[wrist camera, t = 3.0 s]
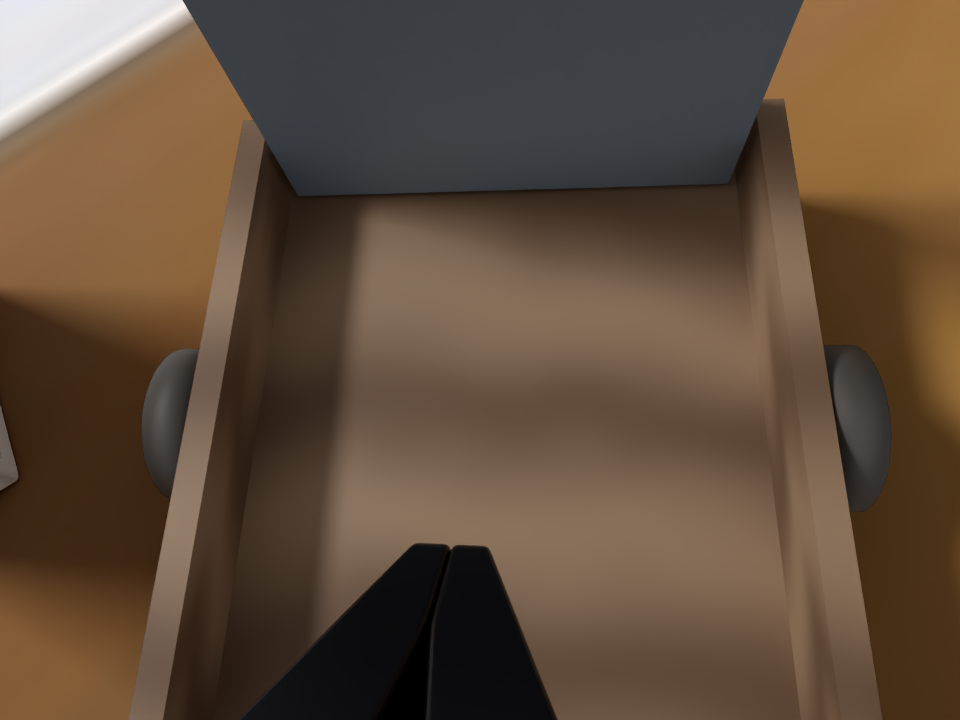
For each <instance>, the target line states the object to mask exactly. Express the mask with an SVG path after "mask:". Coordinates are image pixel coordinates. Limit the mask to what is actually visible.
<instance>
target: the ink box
mask: <svg viewBox="0 0 960 720" xmlns="http://www.w3.org/2000/svg"><path fill="white" fill-rule="evenodd" d="M18 477H19V476H18V471H17V467H16V463H15V460H14V456H13V452H12V449H11V445H10V441H9V437H8V433H7V429H6V425H5V421H4V418H3V414H2V409H1V406H0V490H2V489H4V488H5V487H7V486H9V485H11V484H12V483H14V482H16V481H17V479H18Z"/></svg>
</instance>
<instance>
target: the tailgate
mask: <svg viewBox="0 0 960 720" xmlns="http://www.w3.org/2000/svg"><path fill="white" fill-rule="evenodd" d="M183 2H184V3H185V5H186V7H187V8H188V10H189V12H190V14H191V15H192V17H193V19H194V20H195V22H196V24H197V25H198V27H199V29H200V30H201V32H202V34H203V36H204V37H205V39H206V41H207V42H208V44H209V46H210V47H211V49H212V51H213V52H214V54H215V56H216V58H217V59H218V61H219V63H220V64H221V66H222V68H223V69H224V71H225V73H226V74H227V76H228V78H229V80H230V81H231V83H232V85H233V86H234V88H235V90H236V91H237V93H238V95H239V96H240V98H241V100H242V102H243V103H244V105H245V107H246V108H247V110H248V112H249V113H250V115H251V117H252V118H253V120H254V122H255V124H256V125H257V127H258V129H259V130H260V132H261V134H262V135H263V137H264V139H265V140H266V142H267V144H268V146H269V147H270V149H271V151H272V152H273V154H274V156H275V157H276V159H277V161H278V162H279V164H280V166H281V168H282V169H283V171H284V173H285V174H286V176H287V178H288V179H289V181H290V183H291V184H292V186H293V188H294V190H295V191H296V193H297V195H298V196H323V195H358V194H392V193H427V192H461V191H496V190H530V189H565V188H599V187H634V186H668V185H703V184H728V183H729V181H730V178H731V176H732V173H733V171H734V169H735V166H736V164H737V161H738V159H739V156H740V154H741V152H742V149H743V147H744V144H745V142H746V139H747V137H748V134H749V132H750V130H751V127H752V125H753V122H754V120H755V117H756V115H757V113H758V110H759V108H760V105H761V103H762V100H763V98H764V95H765V93H766V91H767V88H768V86H769V83H770V81H771V78H772V76H773V74H774V71H775V69H776V66H777V64H778V61H779V59H780V56H781V54H782V52H783V49H784V47H785V44H786V42H787V39H788V37H789V35H790V32H791V30H792V27H793V25H794V22H795V20H796V17H797V15H798V13H799V10H800V8H801V5H802V3H803V0H183Z"/></svg>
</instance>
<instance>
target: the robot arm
mask: <svg viewBox="0 0 960 720" xmlns="http://www.w3.org/2000/svg"><path fill="white" fill-rule="evenodd" d="M237 720H558V719H557V716H556V714H555V711H554V709H553V706H552V704H551V701H550V699H549V696H548V694H547V691H546V689H545V686H544V684H543V681H542V679H541V676H540V674H539V671H538V669H537V666H536V664H535V661H534V659H533V656H532V653H531V651H530V648H529V646H528V643H527V641H526V638H525V636H524V633H523V631H522V628H521V626H520V623H519V621H518V618H517V616H516V613H515V611H514V608H513V606H512V603H511V601H510V598H509V596H508V593H507V591H506V588H505V586H504V583H503V581H502V578H501V576H500V573H499V571H498V568H497V566H496V563H495V561H494V558H493V556H492V553H491V551H490V550H489V548H488V547H486V546H478V545H455V546H454V547H453V548H452V549H450V547H449V546H448V545H447V544H435V543H416V544H414V545H412V546H411V547H409V548H408V549H407V550H406V551H405V552H404V553H403V554H402V555H401V556H400V557H399V558H398V559H397V560H396V561H395V562H394V563H393V564H392V565H391V566H390V567H389V568H388V569H387V570H386V571H385V572H384V573H383V574H382V575H381V576H380V577H379V578H378V579H377V580H376V581H375V582H374V583H373V584H372V585H371V586H370V587H369V588H368V589H367V590H366V591H365V592H364V593H363V594H362V595H361V596H360V597H359V598H358V599H357V600H356V601H355V602H354V603H353V604H352V605H351V606H350V607H349V608H348V609H347V610H346V611H345V612H344V613H343V614H342V615H341V616H340V617H339V618H338V619H337V620H336V621H335V622H334V623H333V624H332V625H331V626H330V627H329V628H328V629H327V630H326V631H325V632H324V633H323V634H322V635H321V636H320V637H319V638H318V639H317V640H316V641H315V642H314V643H313V644H312V645H311V646H310V647H309V648H308V649H307V650H306V651H305V652H304V653H303V654H302V655H301V656H300V657H299V658H298V659H297V660H296V661H295V662H294V663H293V664H292V665H291V666H290V667H289V668H288V669H287V670H286V671H285V672H284V673H283V674H282V675H281V676H280V677H279V678H278V679H277V680H276V681H275V682H274V683H273V684H272V685H271V686H270V687H269V688H268V689H267V690H266V691H265V692H264V693H263V694H262V695H261V696H260V697H259V698H258V699H257V700H256V701H255V702H254V703H253V704H252V705H251V706H250V707H249V708H248V709H247V710H246V711H245V712H244V713H243V714H242V715H241V716H240V717H239V718H238V719H237Z"/></svg>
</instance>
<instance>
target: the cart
mask: <svg viewBox="0 0 960 720" xmlns="http://www.w3.org/2000/svg"><path fill="white" fill-rule="evenodd" d="M141 436H142V448H143V455H144V459H145V464H146V467H147V470H148V473H149V475H150V477H151V479H152V481H153V483H154V484H155V486H156V488H157V489H158V490H159V491H160V492H161V493H162V494H163V495H165V496H166V497H168V498H170V499H171V500H170V505H169V510H168V515H167V521H166V526H165V531H164V536H163V541H162V547H161V552H160V557H159V562H158V568H157V573H156V578H155V583H154V588H153V594H152V599H151V604H150V609H149V615H148V620H147V625H146V630H145V635H144V641H143V646H142V651H141V656H140V661H139V667H138V672H137V677H136V682H135V688H134V693H133V698H132V703H131V708H130V714H129V719H128V720H237V719H238V718H239V717H240V716H241V715H242V714H243V713H244V712H245V711H246V710H247V709H248V708H249V707H250V706H251V705H252V704H253V703H254V702H255V701H256V700H257V699H258V698H259V697H260V696H261V695H262V694H263V693H264V692H265V691H266V690H267V689H268V688H269V687H270V686H271V685H272V684H273V683H274V682H275V681H276V680H277V679H278V678H279V677H280V676H281V675H282V674H283V673H284V672H285V671H286V670H287V669H288V668H289V667H290V666H291V665H292V664H293V663H294V662H295V661H296V660H297V659H298V658H299V657H300V656H301V655H302V654H303V653H304V652H305V651H306V650H307V649H308V648H309V647H310V646H311V645H312V644H313V643H314V642H315V641H316V640H317V639H318V638H319V637H320V636H321V635H322V634H323V633H324V632H325V631H326V630H327V629H328V628H329V627H330V626H331V625H332V624H333V623H334V622H335V621H336V620H337V619H338V618H339V617H340V616H341V615H342V614H343V613H344V612H345V611H346V610H347V609H348V608H349V607H350V606H351V605H352V604H353V603H354V602H355V601H356V600H357V599H358V598H359V597H360V596H361V595H362V594H363V593H364V592H365V591H366V590H367V589H368V588H369V587H370V586H371V585H372V584H373V583H374V582H375V581H376V580H377V579H378V578H379V577H380V576H381V575H382V574H383V573H384V572H385V571H386V570H387V569H388V568H389V567H390V566H391V565H392V564H393V563H394V562H395V561H396V560H397V559H398V558H399V557H400V556H401V555H402V554H403V553H404V552H405V551H406V550H407V549H408V548H409V547H411V546H412V545H414V544H416V543H435V544H447V545H448V546H449V547H450V549H452V548H453V547H454V546H455V545H478V546H486V547H488V548H489V550H490V551H491V553H492V556H493V558H494V561H495V563H496V566H497V568H498V571H499V573H500V576H501V578H502V581H503V583H504V586H505V588H506V591H507V593H508V596H509V598H510V601H511V603H512V606H513V608H514V611H515V613H516V616H517V618H518V621H519V623H520V626H521V628H522V631H523V633H524V636H525V638H526V641H527V643H528V646H529V648H530V651H531V653H532V656H533V659H534V661H535V664H536V666H537V669H538V671H539V674H540V676H541V679H542V681H543V684H544V686H545V689H546V691H547V694H548V696H549V699H550V701H551V704H552V706H553V709H554V711H555V714H556V716H557V719H558V720H883V719H882V713H881V707H880V700H879V694H878V688H877V682H876V675H875V669H874V663H873V656H872V650H871V644H870V637H869V631H868V625H867V619H866V612H865V606H864V600H863V593H862V587H861V581H860V575H859V568H858V562H857V556H856V549H855V543H854V537H853V530H852V524H851V518H850V512H861V511H865V510H866V509H868V508H870V507H871V506H872V505H873V504H874V502H875V501H876V500H877V498H878V497H879V495H880V493H881V491H882V488H883V486H884V483H885V480H886V476H887V472H888V467H889V461H890V452H891V424H890V414H889V407H888V401H887V397H886V392H885V389H884V386H883V382H882V380H881V377H880V375H879V372H878V370H877V368H876V366H875V364H874V363H873V361H872V360H871V358H870V357H869V356H868V355H867V353H866V352H865V351H863V350H862V349H861V348H859V347H857V346H854V345H823V342H822V335H821V329H820V323H819V316H818V310H817V304H816V298H815V291H814V285H813V279H812V272H811V266H810V260H809V254H808V247H807V241H806V235H805V228H804V222H803V216H802V209H801V203H800V197H799V191H798V184H797V178H796V172H795V165H794V159H793V153H792V147H791V140H790V134H789V128H788V121H787V115H786V109H785V102H784V99H764V100H762V103H761V105H760V108H759V110H758V113H757V115H756V117H755V120H754V122H753V125H752V127H751V130H750V132H749V134H748V137H747V139H746V142H745V144H744V147H743V149H742V152H741V154H740V156H739V159H738V161H737V164H736V166H735V169H734V171H733V173H732V176H731V178H730V181H729V183H728V184H703V185H668V186H634V187H599V188H565V189H530V190H496V191H461V192H427V193H392V194H358V195H323V196H298V195H297V193H296V191H295V190H294V188H293V186H292V184H291V183H290V181H289V179H288V178H287V176H286V174H285V173H284V171H283V169H282V168H281V166H280V164H279V162H278V161H277V159H276V157H275V156H274V154H273V152H272V151H271V149H270V147H269V146H268V144H267V142H266V140H265V139H264V137H263V135H262V134H261V132H260V130H259V129H258V127H257V125H256V124H255V122H254V120H248V121H243V124H242V129H241V134H240V140H239V145H238V150H237V155H236V160H235V166H234V171H233V176H232V181H231V187H230V192H229V197H228V202H227V207H226V213H225V218H224V223H223V228H222V234H221V239H220V244H219V249H218V254H217V260H216V265H215V270H214V275H213V281H212V286H211V291H210V296H209V301H208V307H207V312H206V317H205V322H204V327H203V333H202V338H201V343H200V348H199V349H181V350H177V351H175V352H173V353H171V354H170V355H168V356H167V357H166V358H165V359H164V360H163V361H162V363H161V364H160V365H159V367H158V368H157V370H156V372H155V373H154V375H153V377H152V380H151V382H150V384H149V387H148V390H147V394H146V397H145V401H144V407H143V413H142V427H141Z"/></svg>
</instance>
